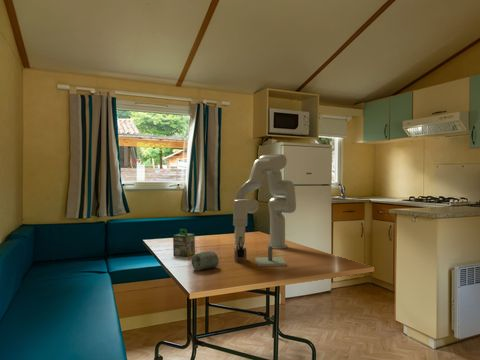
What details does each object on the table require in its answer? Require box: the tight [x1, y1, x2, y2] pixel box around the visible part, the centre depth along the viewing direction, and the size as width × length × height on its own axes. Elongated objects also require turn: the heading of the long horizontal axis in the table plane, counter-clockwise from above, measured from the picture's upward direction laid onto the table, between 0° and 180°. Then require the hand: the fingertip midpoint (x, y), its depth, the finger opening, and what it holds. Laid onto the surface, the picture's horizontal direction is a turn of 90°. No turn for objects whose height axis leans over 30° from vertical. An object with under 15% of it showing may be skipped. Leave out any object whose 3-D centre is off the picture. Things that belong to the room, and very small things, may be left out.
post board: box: [254, 245, 287, 267], centre depth 176 cm, size 14×14×8 cm
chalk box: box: [172, 228, 196, 258], centre depth 195 cm, size 9×9×15 cm
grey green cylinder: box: [190, 250, 219, 272], centre depth 163 cm, size 14×10×10 cm
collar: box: [233, 247, 247, 263], centre depth 181 cm, size 6×6×6 cm
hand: (239, 255), depth 180 cm, fingers open, 9 cm apart
